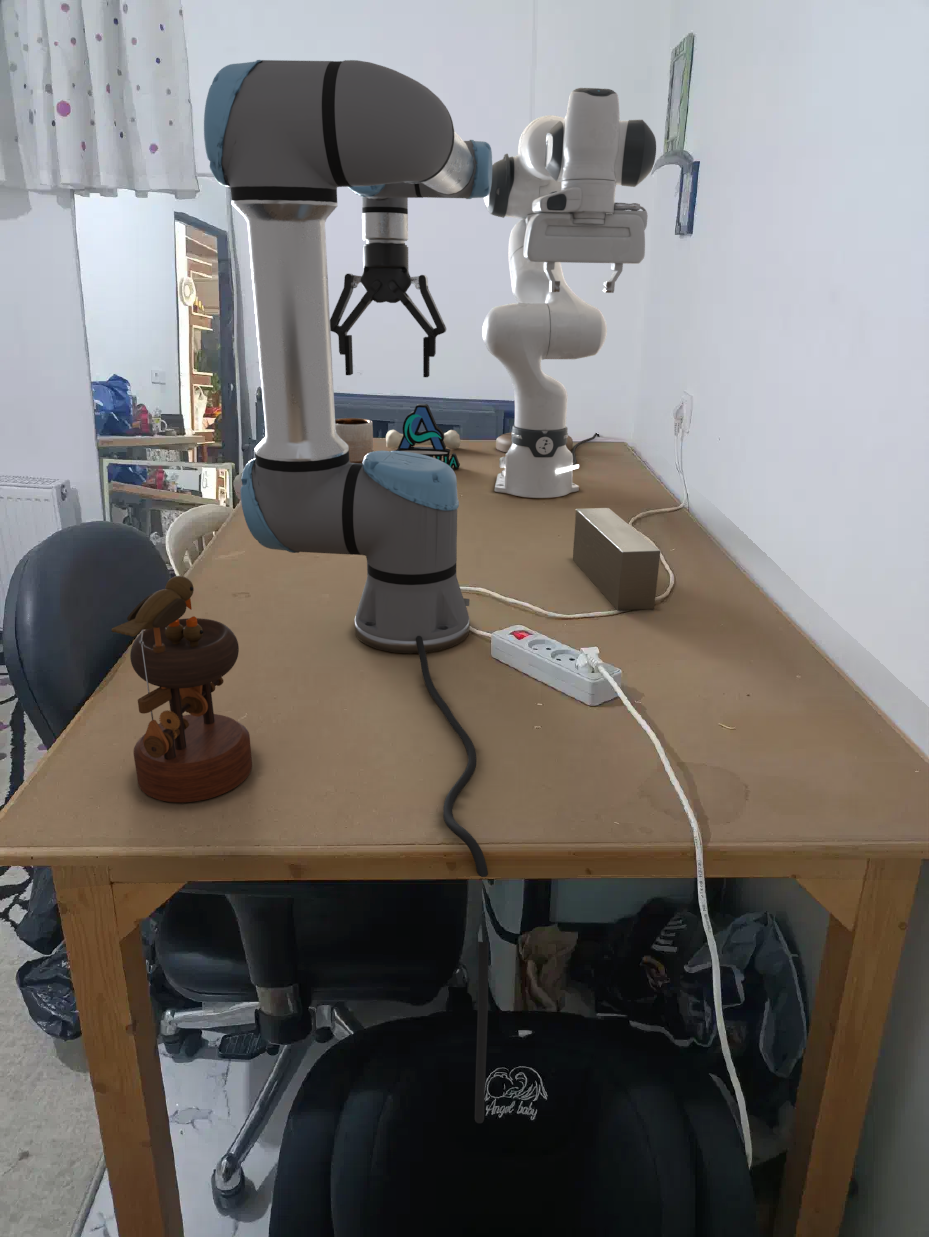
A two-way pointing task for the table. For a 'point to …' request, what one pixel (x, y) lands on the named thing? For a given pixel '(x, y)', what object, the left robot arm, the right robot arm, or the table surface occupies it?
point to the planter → (356, 437)
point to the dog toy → (450, 441)
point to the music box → (184, 700)
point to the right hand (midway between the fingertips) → (581, 292)
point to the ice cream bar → (505, 442)
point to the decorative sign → (425, 436)
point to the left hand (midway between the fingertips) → (387, 375)
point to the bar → (616, 558)
